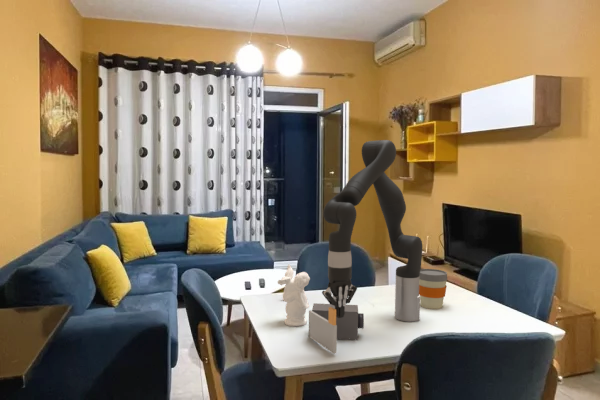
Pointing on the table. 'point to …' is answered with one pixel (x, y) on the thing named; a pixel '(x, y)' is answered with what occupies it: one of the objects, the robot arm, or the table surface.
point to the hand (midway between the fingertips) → (339, 317)
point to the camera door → (324, 329)
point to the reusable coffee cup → (432, 288)
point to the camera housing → (343, 320)
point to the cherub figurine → (295, 297)
